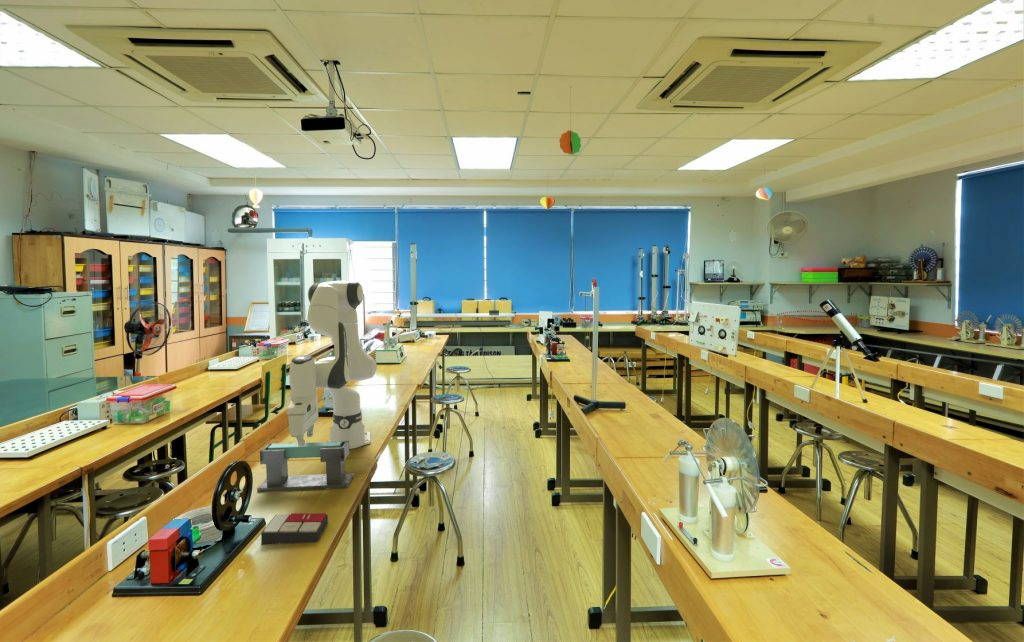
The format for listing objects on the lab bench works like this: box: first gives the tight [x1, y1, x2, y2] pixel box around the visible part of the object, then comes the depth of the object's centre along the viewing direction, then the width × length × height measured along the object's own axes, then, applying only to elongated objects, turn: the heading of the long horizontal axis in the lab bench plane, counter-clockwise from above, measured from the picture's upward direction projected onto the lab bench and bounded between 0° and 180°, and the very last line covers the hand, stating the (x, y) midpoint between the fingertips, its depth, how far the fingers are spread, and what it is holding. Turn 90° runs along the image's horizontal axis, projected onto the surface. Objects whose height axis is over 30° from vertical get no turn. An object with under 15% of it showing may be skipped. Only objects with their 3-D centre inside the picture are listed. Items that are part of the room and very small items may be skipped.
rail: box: [268, 441, 342, 459], centre depth 175 cm, size 4×24×4 cm, turn 96°
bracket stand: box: [256, 440, 355, 492], centre depth 175 cm, size 10×30×14 cm, turn 96°
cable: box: [172, 505, 221, 544], centre depth 140 cm, size 18×18×6 cm
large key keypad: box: [260, 512, 329, 546], centre depth 142 cm, size 11×4×15 cm
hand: (305, 440), depth 174 cm, fingers open, 8 cm apart
